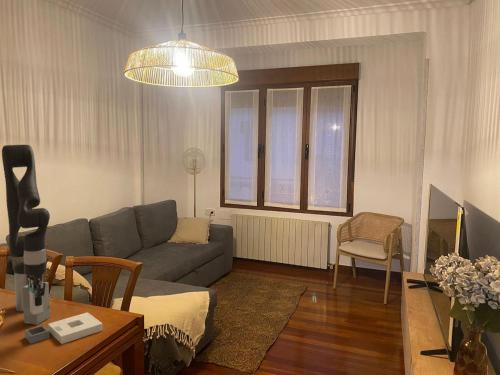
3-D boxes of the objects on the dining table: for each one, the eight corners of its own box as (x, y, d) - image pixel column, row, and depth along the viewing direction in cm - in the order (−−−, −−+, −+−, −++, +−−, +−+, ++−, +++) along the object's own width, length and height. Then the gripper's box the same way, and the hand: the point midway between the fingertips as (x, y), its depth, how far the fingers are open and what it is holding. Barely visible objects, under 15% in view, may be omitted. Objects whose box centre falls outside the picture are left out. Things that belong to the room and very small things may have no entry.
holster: (25, 337, 152) (24, 330, 151) (43, 332, 156) (43, 324, 156) (30, 344, 147) (30, 336, 147) (49, 338, 152) (49, 330, 152)
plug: (30, 311, 151) (29, 286, 150) (40, 308, 153) (39, 284, 152) (33, 314, 148) (32, 289, 147) (43, 311, 151) (42, 286, 150)
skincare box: (37, 325, 162) (36, 288, 160) (22, 323, 163) (20, 286, 161) (51, 316, 170) (50, 281, 168) (37, 314, 171) (35, 280, 169)
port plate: (48, 330, 157) (47, 323, 157) (87, 318, 169) (87, 312, 169) (61, 344, 148) (61, 336, 147) (102, 330, 159) (102, 323, 159)
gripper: (18, 258, 150) (19, 300, 153) (30, 267, 141) (32, 313, 143) (39, 254, 156) (40, 295, 158) (52, 263, 146) (53, 307, 148)
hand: (36, 303), depth 150 cm, fingers closed on plug, 3 cm apart
